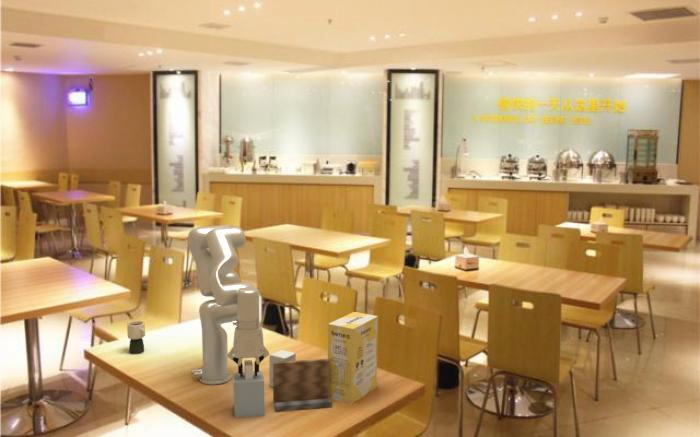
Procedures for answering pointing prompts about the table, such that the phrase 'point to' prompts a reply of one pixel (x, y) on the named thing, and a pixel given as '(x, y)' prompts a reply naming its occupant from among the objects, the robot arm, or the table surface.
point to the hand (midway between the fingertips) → (248, 374)
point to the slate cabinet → (248, 392)
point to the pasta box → (352, 356)
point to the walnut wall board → (301, 385)
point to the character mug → (136, 336)
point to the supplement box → (279, 357)
